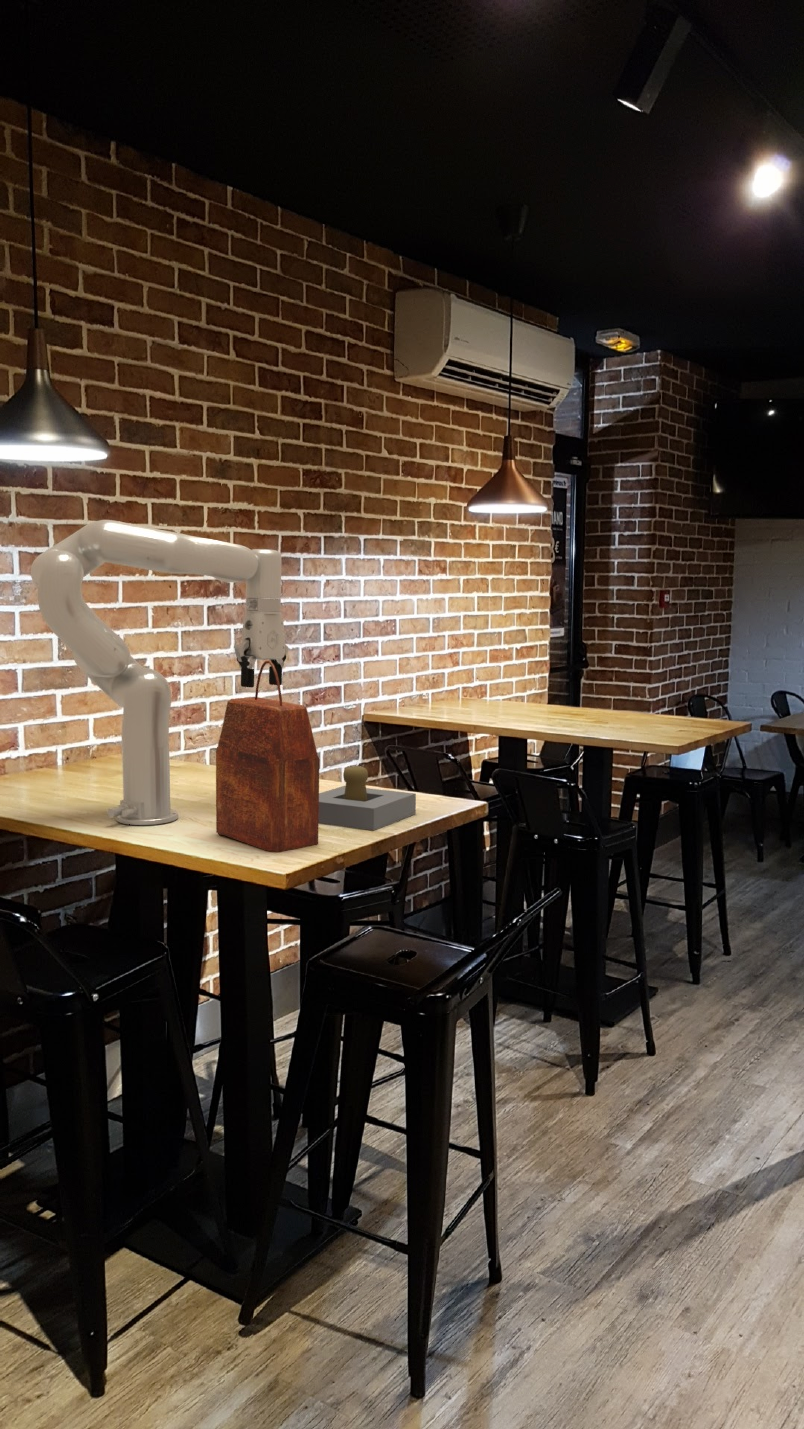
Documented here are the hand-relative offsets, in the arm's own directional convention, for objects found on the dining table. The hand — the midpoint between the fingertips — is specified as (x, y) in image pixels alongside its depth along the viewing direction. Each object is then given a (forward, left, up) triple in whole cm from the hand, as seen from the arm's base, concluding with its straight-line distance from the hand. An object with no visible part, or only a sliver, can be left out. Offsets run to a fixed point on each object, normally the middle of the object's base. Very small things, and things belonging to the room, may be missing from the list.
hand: (261, 685), depth 230 cm
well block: (+2, -23, -27) cm, 36 cm away
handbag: (-24, -18, -27) cm, 41 cm away
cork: (+1, -23, -27) cm, 36 cm away
